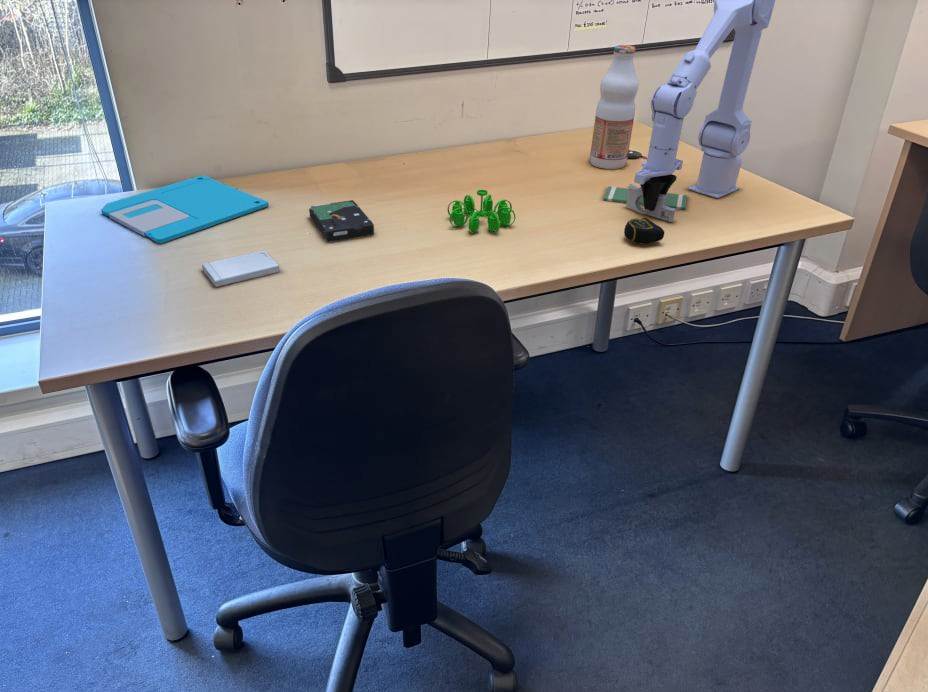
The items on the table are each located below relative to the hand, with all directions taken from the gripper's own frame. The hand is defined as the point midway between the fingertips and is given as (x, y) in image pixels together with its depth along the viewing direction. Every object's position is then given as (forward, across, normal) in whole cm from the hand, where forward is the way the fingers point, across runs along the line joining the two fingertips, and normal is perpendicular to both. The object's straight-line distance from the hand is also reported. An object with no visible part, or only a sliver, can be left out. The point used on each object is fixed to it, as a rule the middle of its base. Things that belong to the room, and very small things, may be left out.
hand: (651, 208), depth 163 cm
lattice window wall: (+2, 0, 0) cm, 2 cm away
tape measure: (+2, +12, +6) cm, 14 cm away
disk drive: (+2, +55, -40) cm, 68 cm away
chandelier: (+2, +31, -22) cm, 38 cm away
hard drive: (+2, +82, -34) cm, 89 cm away
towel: (+2, -7, -6) cm, 10 cm away
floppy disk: (+2, +76, -70) cm, 104 cm away
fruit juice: (+2, -21, -28) cm, 34 cm away
